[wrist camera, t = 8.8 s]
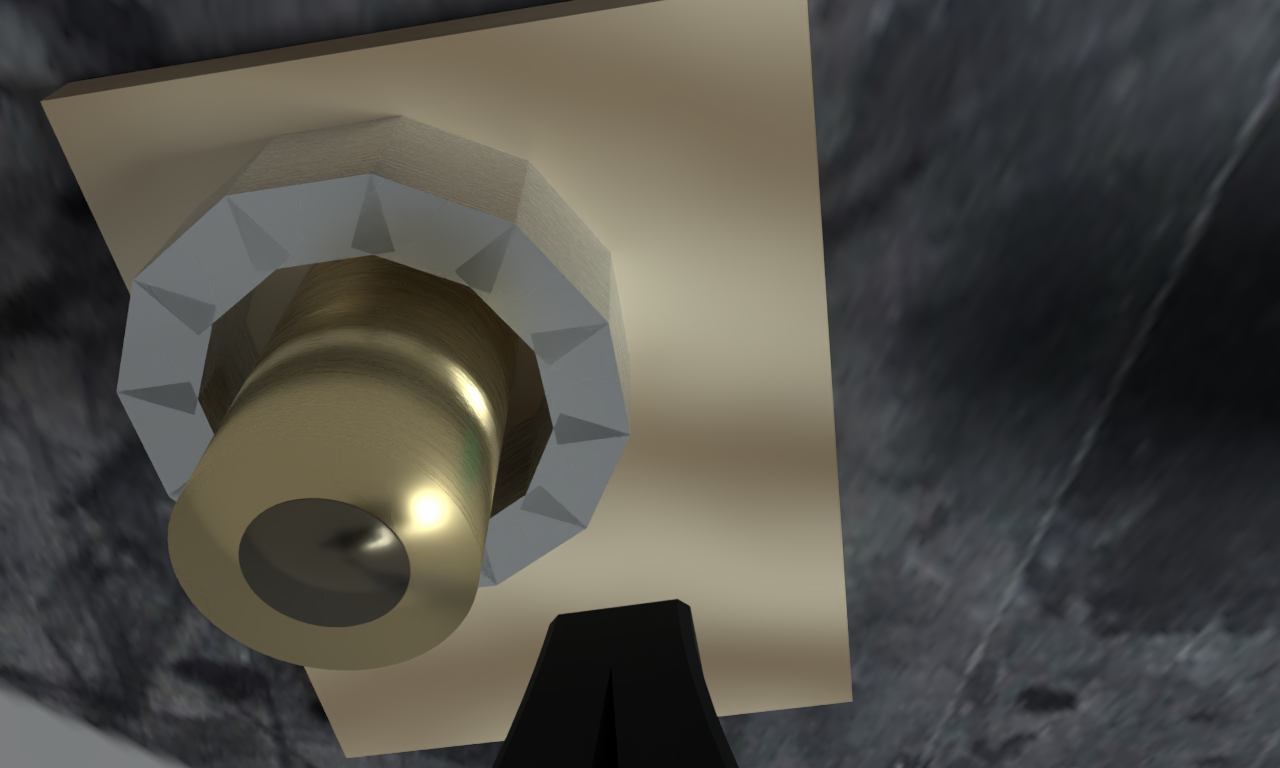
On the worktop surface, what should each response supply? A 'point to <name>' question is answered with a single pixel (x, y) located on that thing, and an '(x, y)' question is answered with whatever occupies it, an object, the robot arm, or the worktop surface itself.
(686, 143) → the jig plate
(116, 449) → the worktop surface
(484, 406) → the brass sleeve
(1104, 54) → the worktop surface
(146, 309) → the bore collar
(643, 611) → the robot arm
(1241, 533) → the worktop surface
